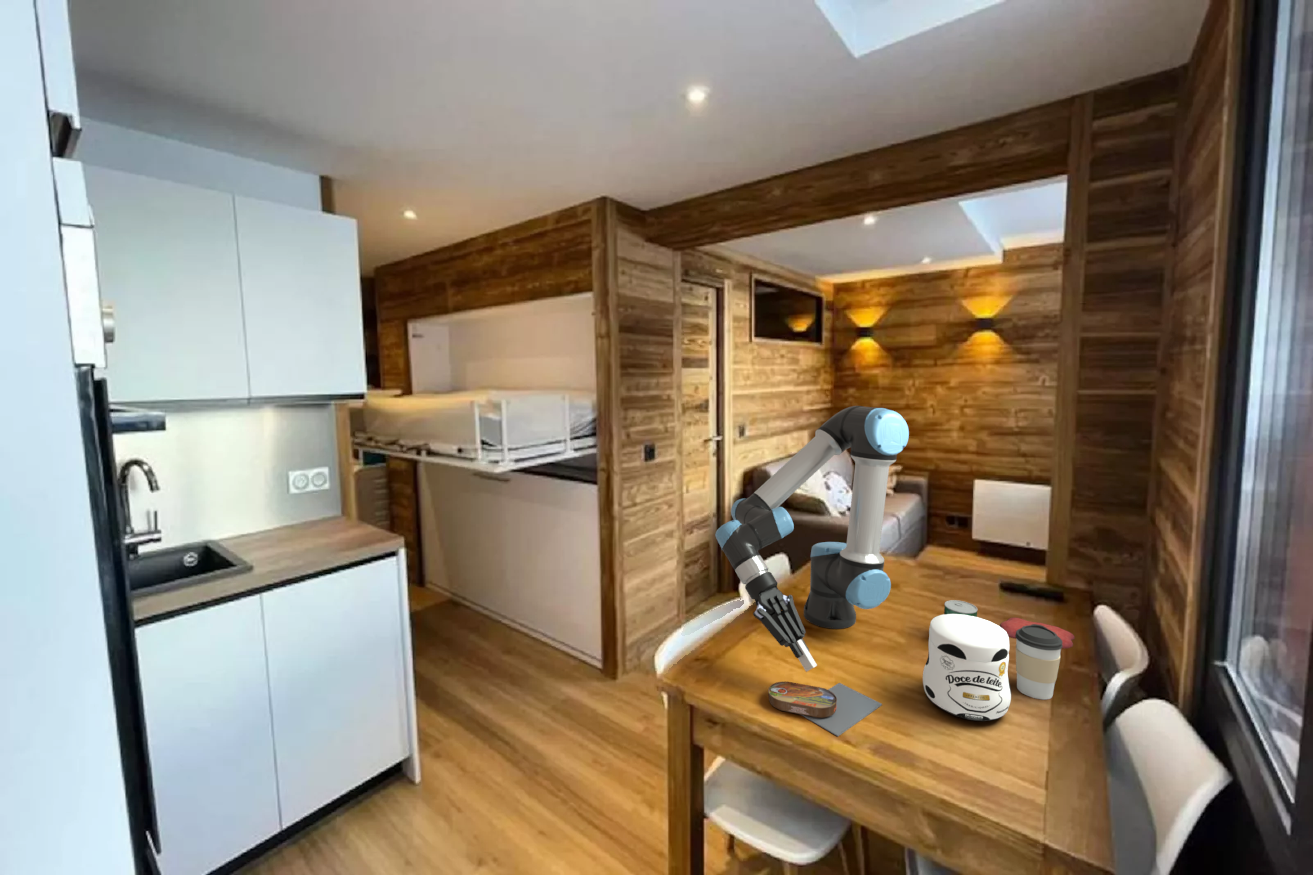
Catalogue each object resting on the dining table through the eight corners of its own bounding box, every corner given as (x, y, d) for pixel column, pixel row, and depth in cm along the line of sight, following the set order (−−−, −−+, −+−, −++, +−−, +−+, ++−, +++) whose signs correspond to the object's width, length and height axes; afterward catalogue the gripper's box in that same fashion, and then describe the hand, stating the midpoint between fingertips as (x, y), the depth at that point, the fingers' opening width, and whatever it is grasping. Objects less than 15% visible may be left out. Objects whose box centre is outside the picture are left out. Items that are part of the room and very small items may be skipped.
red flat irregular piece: (997, 636, 158) (997, 629, 158) (1002, 617, 169) (1003, 611, 169) (1074, 654, 148) (1074, 647, 148) (1074, 634, 159) (1075, 627, 159)
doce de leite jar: (970, 737, 115) (974, 655, 113) (904, 692, 131) (908, 619, 129) (1028, 717, 121) (1034, 638, 119) (959, 676, 137) (963, 606, 135)
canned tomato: (979, 653, 148) (982, 613, 147) (947, 650, 150) (949, 611, 148) (969, 638, 156) (971, 601, 154) (938, 636, 157) (940, 599, 156)
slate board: (794, 711, 124) (794, 710, 124) (839, 683, 135) (839, 682, 135) (837, 736, 116) (837, 735, 116) (881, 705, 126) (882, 703, 126)
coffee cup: (1059, 707, 125) (1065, 643, 123) (1011, 694, 129) (1016, 633, 127) (1056, 687, 132) (1061, 627, 130) (1011, 676, 137) (1015, 618, 135)
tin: (839, 690, 126) (834, 708, 119) (839, 704, 127) (834, 723, 119) (773, 678, 133) (764, 694, 125) (773, 691, 133) (764, 708, 125)
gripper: (765, 578, 146) (818, 664, 135) (730, 592, 138) (784, 684, 127) (782, 564, 141) (838, 652, 130) (747, 577, 133) (804, 673, 122)
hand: (811, 668), depth 129 cm, fingers closed
